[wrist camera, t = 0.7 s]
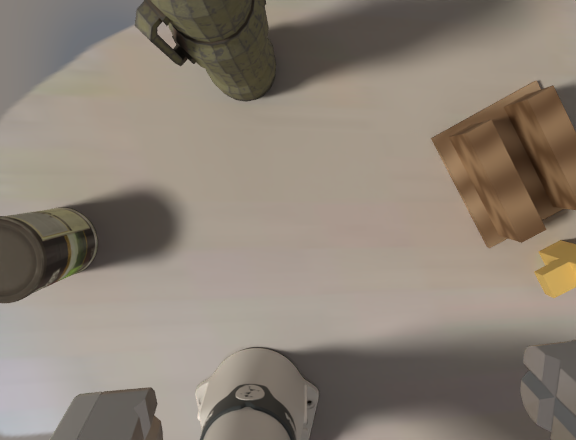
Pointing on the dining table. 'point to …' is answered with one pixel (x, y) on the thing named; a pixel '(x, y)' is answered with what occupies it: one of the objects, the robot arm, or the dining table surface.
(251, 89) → the thermos
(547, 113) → the rack
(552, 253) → the yellow tall bar
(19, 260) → the coffee can
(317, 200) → the dining table surface
